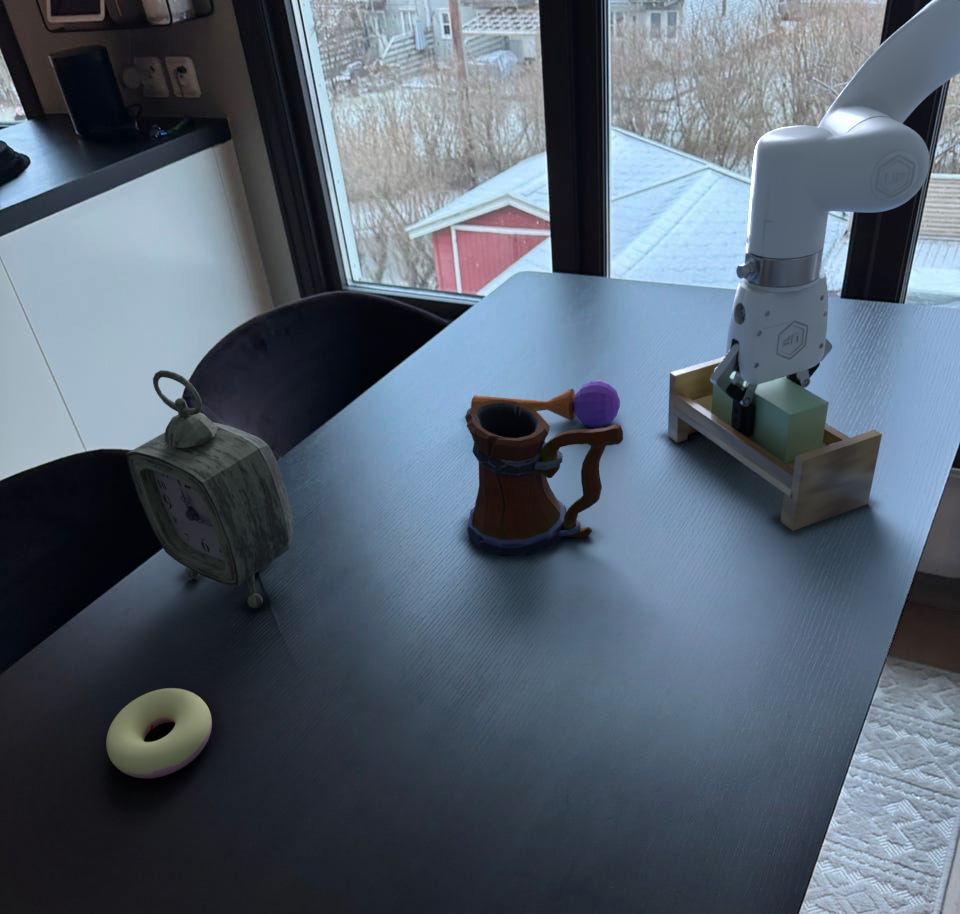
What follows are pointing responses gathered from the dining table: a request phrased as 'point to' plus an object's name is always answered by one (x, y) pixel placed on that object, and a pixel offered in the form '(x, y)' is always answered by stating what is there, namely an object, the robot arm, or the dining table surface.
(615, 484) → the dining table surface
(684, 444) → the dining table surface
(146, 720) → the donut
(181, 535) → the tabletop clock
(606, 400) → the purple ball wooden maraca
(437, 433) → the dining table surface
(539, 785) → the dining table surface
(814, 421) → the bar
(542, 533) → the mug
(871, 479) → the rack
